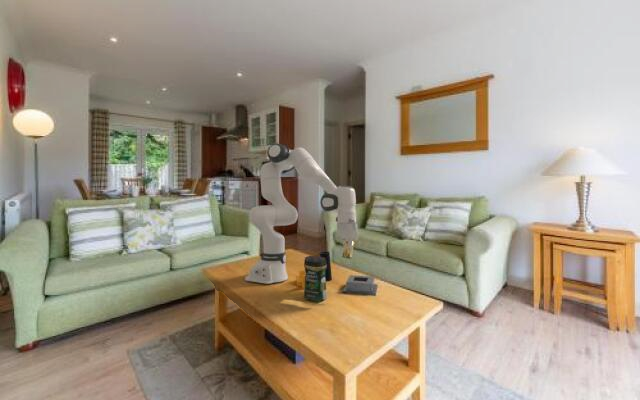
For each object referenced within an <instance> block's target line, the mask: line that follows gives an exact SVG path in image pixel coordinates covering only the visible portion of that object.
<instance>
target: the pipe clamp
mask: <svg viewBox="0 0 640 400" xmlns="http://www.w3.org/2000/svg"><path fill="white" fill-rule="evenodd" d="M298 275H299V276H295V282H296V285H297V287H302V290H304V289H305V269H300V270H298Z"/></svg>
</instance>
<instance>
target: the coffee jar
mask: <svg viewBox="0 0 640 400" xmlns="http://www.w3.org/2000/svg"><path fill="white" fill-rule="evenodd" d="M303 267H304V271H305V289H304V293H303V298H304V299H305V300H307V301H310V302H315V303H316V302H317V303H319V302H323V301H325V300H326V299H327V297H328V292H327V281H326V278H325V272H326V267H327V263H326V258H325V257H320V256H318V255H317V256H316V255H309V256H305V258H304V261H303Z"/></svg>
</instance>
